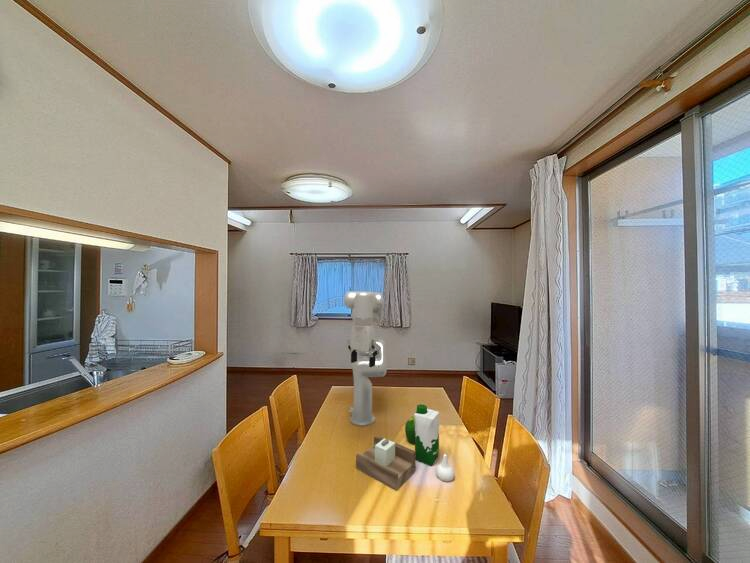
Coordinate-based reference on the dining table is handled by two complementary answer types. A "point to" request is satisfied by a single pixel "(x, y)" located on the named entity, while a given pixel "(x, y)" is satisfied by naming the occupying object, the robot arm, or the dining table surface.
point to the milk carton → (426, 435)
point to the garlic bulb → (445, 470)
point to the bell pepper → (410, 430)
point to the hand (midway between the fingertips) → (362, 364)
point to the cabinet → (384, 452)
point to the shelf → (394, 471)
